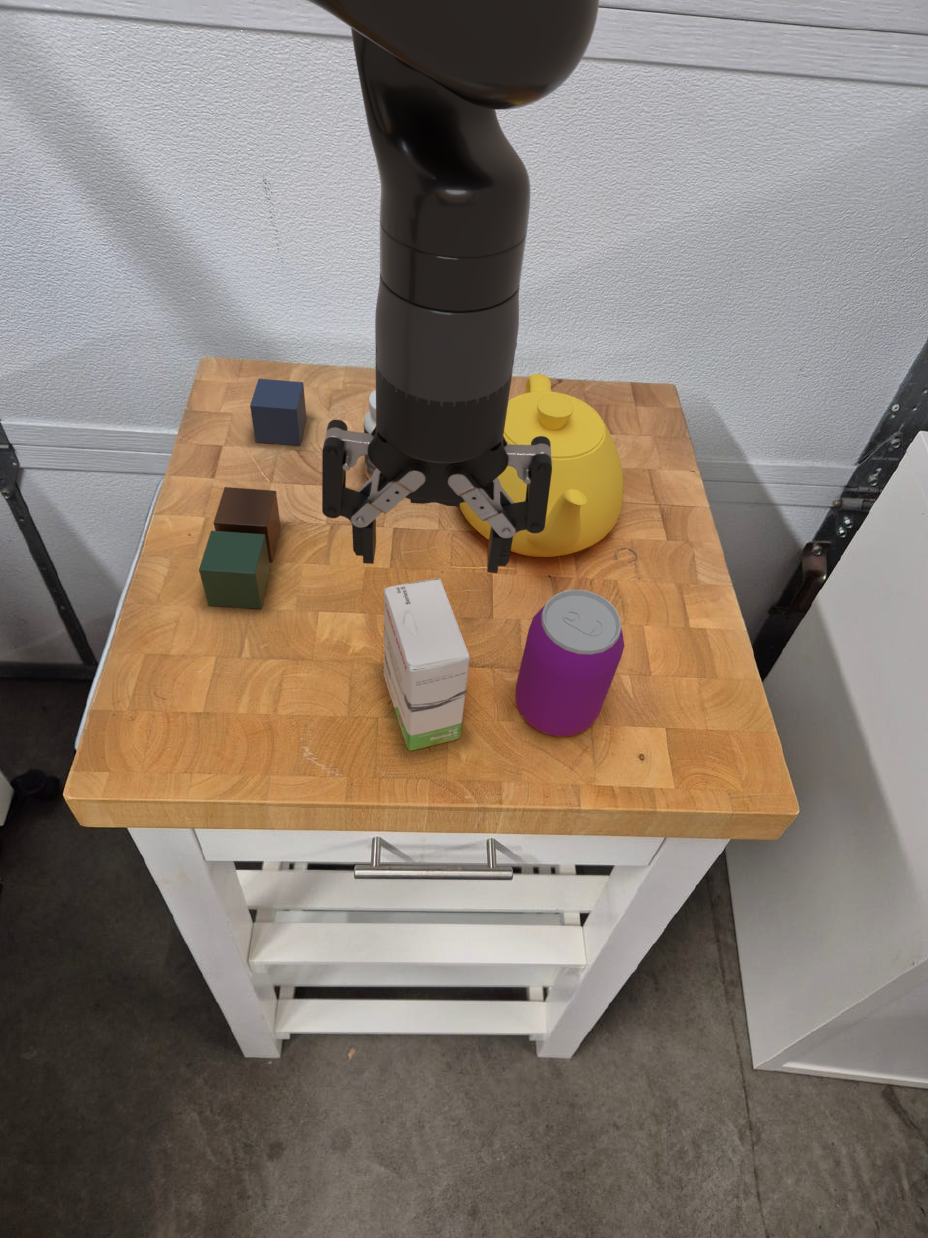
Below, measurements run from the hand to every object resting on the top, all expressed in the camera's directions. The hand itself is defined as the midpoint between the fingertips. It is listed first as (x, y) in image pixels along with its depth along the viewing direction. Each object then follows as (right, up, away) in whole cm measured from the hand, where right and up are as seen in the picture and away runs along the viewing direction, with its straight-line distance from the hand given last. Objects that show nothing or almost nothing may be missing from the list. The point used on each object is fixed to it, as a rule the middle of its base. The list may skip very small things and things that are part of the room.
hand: (431, 559), depth 57 cm
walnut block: (-19, +3, +25) cm, 32 cm away
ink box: (-2, -12, +15) cm, 19 cm away
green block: (-19, -1, +21) cm, 29 cm away
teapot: (+10, +7, +31) cm, 33 cm away
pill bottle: (-6, +12, +33) cm, 36 cm away
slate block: (-19, +17, +36) cm, 44 cm away
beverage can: (+10, -12, +16) cm, 22 cm away
